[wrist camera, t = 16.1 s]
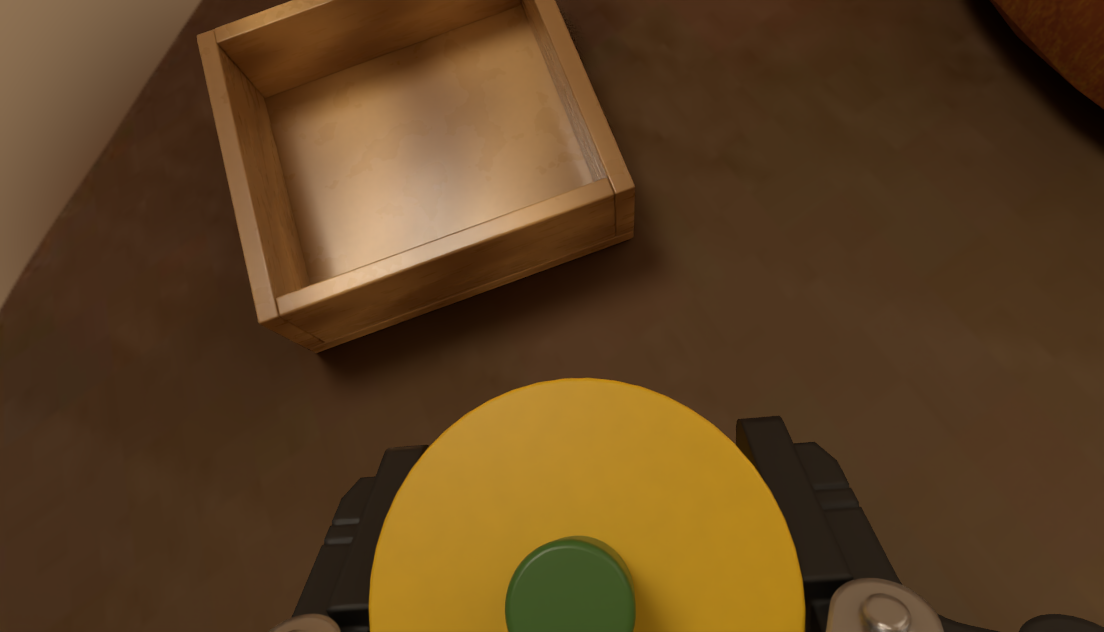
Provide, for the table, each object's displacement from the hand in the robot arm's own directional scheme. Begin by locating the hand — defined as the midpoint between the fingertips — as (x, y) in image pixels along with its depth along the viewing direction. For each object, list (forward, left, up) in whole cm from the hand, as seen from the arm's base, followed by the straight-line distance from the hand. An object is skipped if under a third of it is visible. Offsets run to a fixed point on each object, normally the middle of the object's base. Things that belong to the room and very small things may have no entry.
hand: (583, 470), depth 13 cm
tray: (-2, +16, -14) cm, 22 cm away
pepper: (0, -2, -4) cm, 5 cm away
